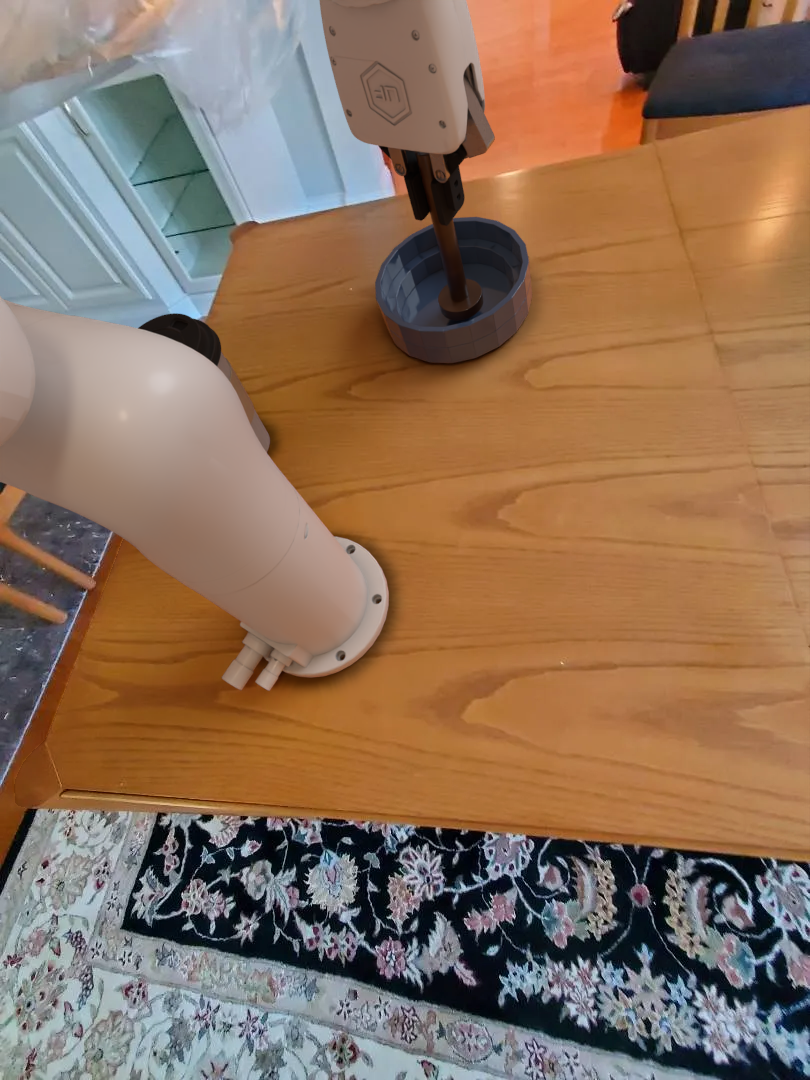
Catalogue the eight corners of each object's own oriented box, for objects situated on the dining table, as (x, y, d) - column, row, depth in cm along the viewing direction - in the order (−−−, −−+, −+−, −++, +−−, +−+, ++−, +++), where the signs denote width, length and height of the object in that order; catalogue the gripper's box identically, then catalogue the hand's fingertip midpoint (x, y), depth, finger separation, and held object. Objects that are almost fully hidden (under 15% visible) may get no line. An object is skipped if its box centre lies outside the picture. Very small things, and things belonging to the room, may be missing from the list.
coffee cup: (292, 408, 65) (219, 299, 52) (276, 486, 61) (193, 389, 48) (213, 415, 68) (125, 313, 55) (193, 490, 64) (92, 399, 51)
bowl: (485, 384, 60) (477, 348, 56) (362, 344, 67) (346, 309, 63) (558, 273, 64) (556, 232, 60) (435, 245, 71) (425, 206, 66)
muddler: (469, 325, 61) (435, 170, 47) (432, 314, 63) (388, 163, 49) (491, 293, 63) (463, 132, 48) (454, 283, 64) (417, 126, 50)
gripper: (249, -21, 40) (345, 226, 56) (458, -20, 33) (500, 260, 49) (314, -87, 42) (389, 170, 58) (524, -98, 35) (544, 196, 51)
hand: (439, 210), depth 54 cm, fingers closed on muddler
